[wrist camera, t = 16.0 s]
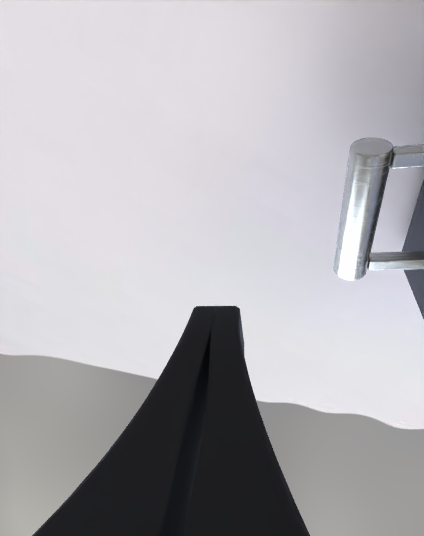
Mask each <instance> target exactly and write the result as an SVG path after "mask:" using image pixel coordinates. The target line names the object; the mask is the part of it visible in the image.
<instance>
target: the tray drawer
mask: <svg viewBox="0 0 424 536" xmlns="http://www.w3.org/2000/svg"><path fill="white" fill-rule="evenodd" d="M390 167H391V168H392V169H397V168H412V167H424V144H418V145H406V146H393V144H392V143H391V142H389V141H387V140H384V139H380V138H363V139H359V140H356V141H354V142H353V143H352V144H351V146H350V152H349V159H348V166H347V174H346V181H345V188H344V196H343V203H342V210H341V218H340V225H339V233H338V240H337V247H336V255H335V262H334V271H335V273H336V275H337V276H339V277H340V278H342V279H345V280H351V281H353V280H358V279H361V278H362V277H363V276H364V275H365V274H366V270H367V268H368V270H404V272H405V274H406V276H407V279H408V281H409V284H410V286H411V289H412V291H413V294H414V296H415V299H416V301H417V304H418V306H419V309H420V311H421V314H422V316H423V319H424V180H423V184H422V187H421V190H420V194H419V197H418V200H417V203H416V207H415V210H414V213H413V217H412V220H411V223H410V226H409V230H408V233H407V236H406V240H405V243H404V246H403V249H402V252H381V253H370V252H371V248H372V243H373V239H374V234H375V230H376V226H377V221H378V217H379V212H380V208H381V203H382V199H383V194H384V190H385V185H386V181H387V177H388V172H389V168H390Z"/></svg>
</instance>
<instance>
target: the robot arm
mask: <svg viewBox="0 0 424 536" xmlns="http://www.w3.org/2000/svg"><path fill="white" fill-rule="evenodd" d="M32 536H310V535H309V532H308V530H307V528H306V526H305V524H304V521H303V519H302V517H301V515H300V513H299V510H298V508H297V506H296V504H295V502H294V499H293V497H292V494H291V492H290V490H289V487H288V485H287V482H286V480H285V478H284V475H283V473H282V471H281V468H280V466H279V463H278V461H277V459H276V456H275V453H274V451H273V448H272V445H271V443H270V440H269V437H268V435H267V432H266V429H265V426H264V424H263V421H262V418H261V415H260V412H259V409H258V406H257V403H256V399H255V396H254V393H253V389H252V386H251V382H250V379H249V375H248V371H247V367H246V362H245V358H244V339H243V332H242V324H241V316H240V309H239V308H238V307H236V306H196V307H195V308H194V309H193V312H192V314H191V317H190V319H189V321H188V324H187V326H186V328H185V330H184V332H183V334H182V336H181V338H180V340H179V342H178V344H177V346H176V348H175V350H174V352H173V354H172V356H171V358H170V359H169V361H168V363H167V365H166V367H165V369H164V370H163V372H162V374H161V375H160V377H159V379H158V380H157V382H156V384H155V385H154V387H153V389H152V390H151V392H150V393H149V395H148V397H147V398H146V400H145V401H144V403H143V404H142V406H141V407H140V409H139V410H138V412H137V413H136V415H135V416H134V417H133V419H132V420H131V422H130V423H129V424H128V426H127V427H126V429H125V430H124V431H123V433H122V434H121V435H120V437H119V438H118V439H117V441H116V442H115V443H114V444H113V446H112V447H111V448H110V450H109V451H108V452H107V453H106V455H105V456H104V457H103V458H102V460H101V461H100V462H99V463H98V465H97V466H96V467H95V468H94V469H93V470H92V471H91V473H90V474H89V475H88V476H87V477H86V478H85V479H84V481H83V482H82V483H81V484H80V485H79V486H78V487H77V489H76V490H75V491H74V492H73V493H72V495H71V496H70V497H69V498H68V499H67V500H66V501H65V502H64V503H63V504H62V505H61V507H60V508H59V509H58V510H57V511H56V512H55V513H54V514H53V515H52V516H51V517H50V518H49V519H48V520H47V521H46V522H45V523H44V524H43V525H42V526H41V527H40V528H39V529H38V530H37V531H36V532H35V534H33V535H32Z"/></svg>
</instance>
